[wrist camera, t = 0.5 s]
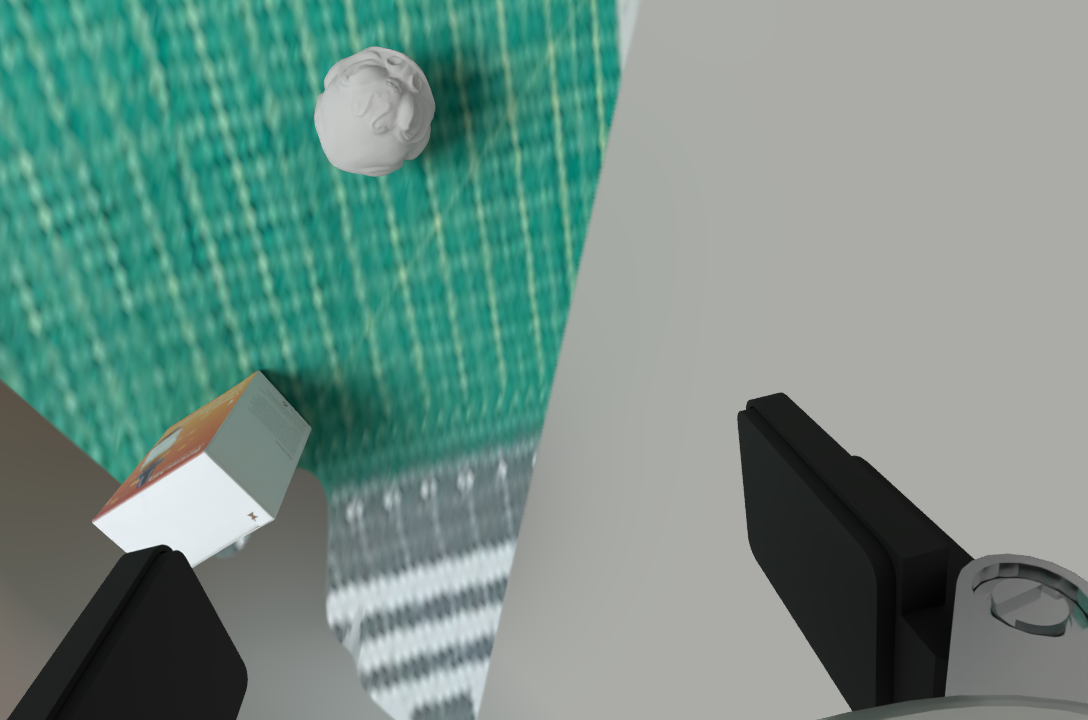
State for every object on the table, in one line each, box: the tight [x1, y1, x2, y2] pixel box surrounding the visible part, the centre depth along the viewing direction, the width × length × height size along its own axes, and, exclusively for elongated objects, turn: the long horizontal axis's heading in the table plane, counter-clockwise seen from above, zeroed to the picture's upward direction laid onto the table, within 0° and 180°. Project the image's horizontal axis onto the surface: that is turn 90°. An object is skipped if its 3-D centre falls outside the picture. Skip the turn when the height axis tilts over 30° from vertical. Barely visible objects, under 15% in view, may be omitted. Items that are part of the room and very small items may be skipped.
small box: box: [92, 371, 312, 568], centre depth 40 cm, size 8×6×10 cm
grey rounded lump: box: [314, 47, 435, 176], centre depth 35 cm, size 6×7×7 cm
